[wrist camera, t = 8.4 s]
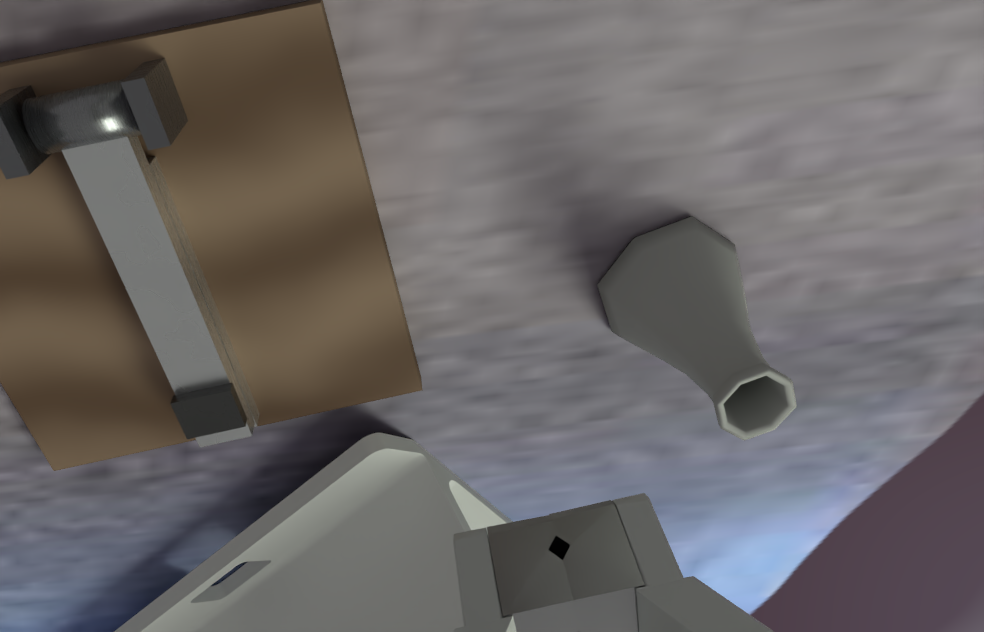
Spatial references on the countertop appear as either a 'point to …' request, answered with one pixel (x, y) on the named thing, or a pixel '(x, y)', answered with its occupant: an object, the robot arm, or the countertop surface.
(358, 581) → the tablet stand
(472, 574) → the robot arm
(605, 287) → the flask
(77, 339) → the walnut board
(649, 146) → the countertop surface
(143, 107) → the lower tong arm
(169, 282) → the upper tong arm
